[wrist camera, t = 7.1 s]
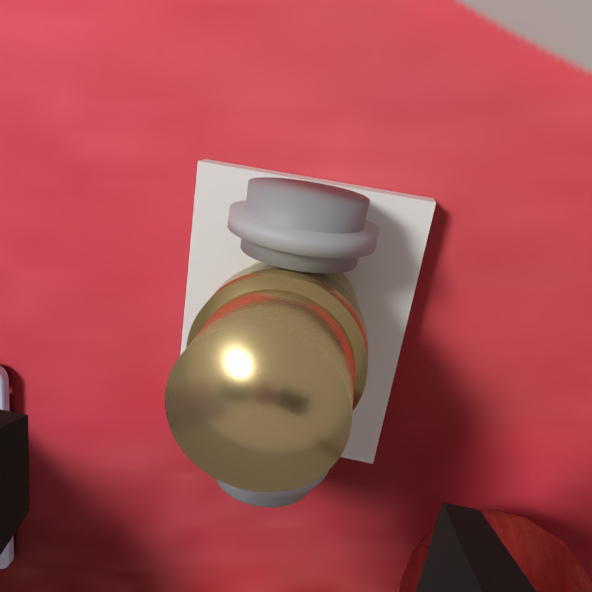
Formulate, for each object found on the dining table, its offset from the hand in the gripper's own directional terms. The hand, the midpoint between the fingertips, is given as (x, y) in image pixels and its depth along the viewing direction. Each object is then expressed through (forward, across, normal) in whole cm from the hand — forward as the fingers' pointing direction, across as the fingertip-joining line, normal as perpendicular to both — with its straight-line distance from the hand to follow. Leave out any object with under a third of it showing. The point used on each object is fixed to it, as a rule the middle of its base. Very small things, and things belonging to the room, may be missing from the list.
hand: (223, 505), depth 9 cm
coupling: (+8, 0, 0) cm, 8 cm away
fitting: (+9, 0, 0) cm, 9 cm away
